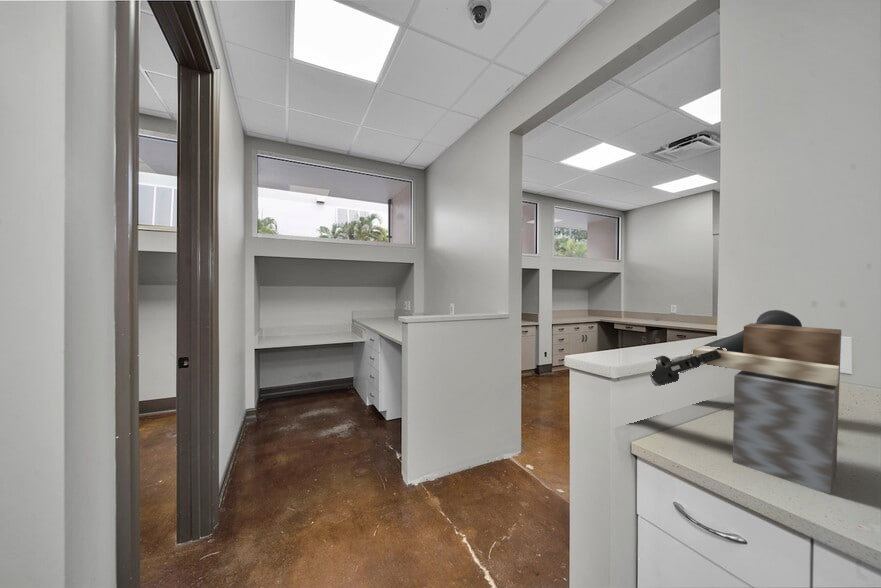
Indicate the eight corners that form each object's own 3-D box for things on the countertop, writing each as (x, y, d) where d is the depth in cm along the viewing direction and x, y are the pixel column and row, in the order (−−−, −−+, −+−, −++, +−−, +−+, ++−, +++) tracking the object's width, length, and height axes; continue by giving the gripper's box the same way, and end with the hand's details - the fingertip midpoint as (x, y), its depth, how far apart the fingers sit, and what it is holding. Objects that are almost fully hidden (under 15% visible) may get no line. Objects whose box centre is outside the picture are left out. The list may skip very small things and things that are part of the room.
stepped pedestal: (732, 461, 77) (735, 329, 76) (748, 440, 87) (751, 323, 85) (830, 494, 65) (835, 338, 64) (836, 466, 75) (841, 329, 73)
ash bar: (692, 362, 85) (693, 348, 85) (697, 359, 87) (697, 347, 87) (837, 386, 65) (837, 369, 65) (838, 382, 68) (839, 366, 67)
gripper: (670, 380, 97) (738, 361, 84) (651, 390, 88) (722, 372, 76) (657, 356, 99) (720, 335, 87) (636, 364, 91) (703, 342, 78)
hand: (720, 352), depth 81 cm, fingers closed on ash bar, 3 cm apart
